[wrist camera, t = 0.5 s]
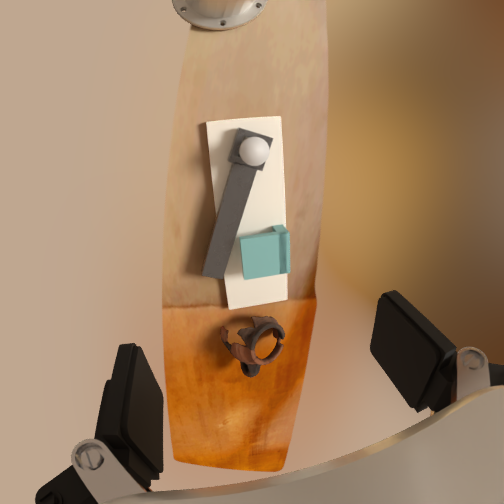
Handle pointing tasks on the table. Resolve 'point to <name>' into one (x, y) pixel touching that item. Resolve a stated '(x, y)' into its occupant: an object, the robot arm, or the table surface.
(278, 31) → the table surface
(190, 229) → the table surface
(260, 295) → the base plank
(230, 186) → the swing link
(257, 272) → the keeper bracket
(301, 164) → the table surface
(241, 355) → the brown two-tone legged part
